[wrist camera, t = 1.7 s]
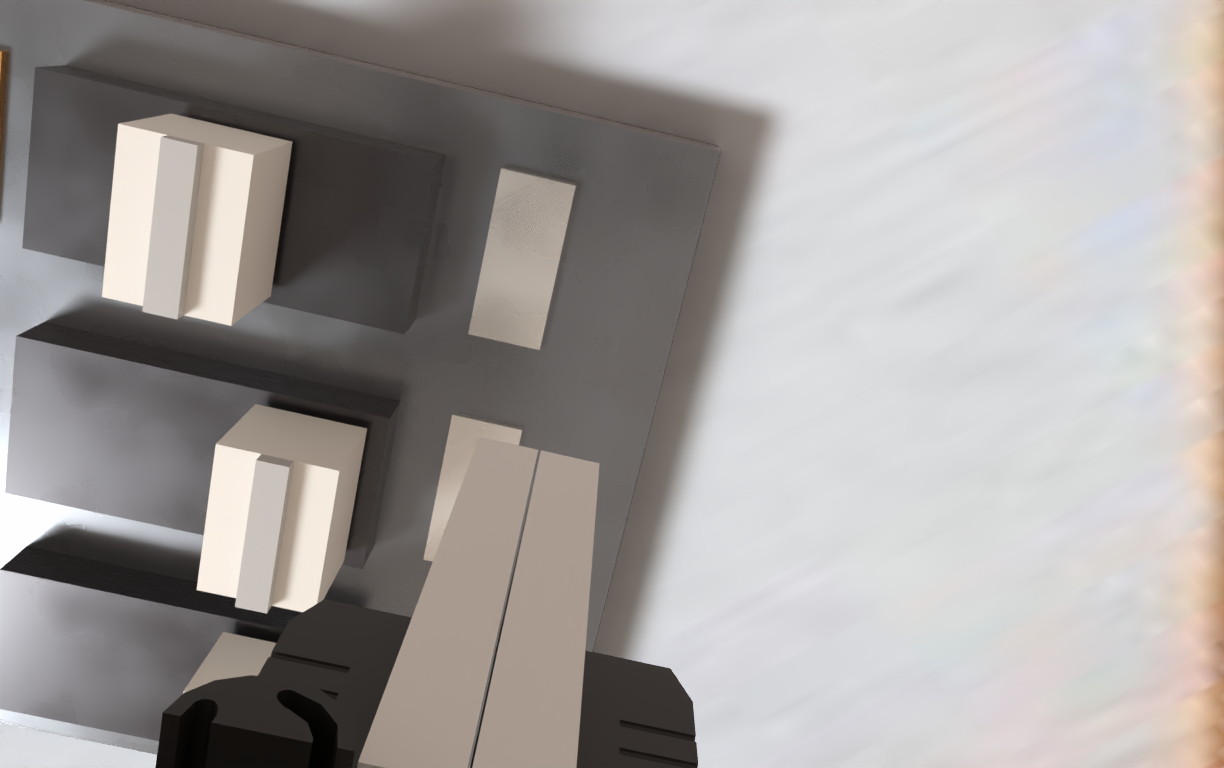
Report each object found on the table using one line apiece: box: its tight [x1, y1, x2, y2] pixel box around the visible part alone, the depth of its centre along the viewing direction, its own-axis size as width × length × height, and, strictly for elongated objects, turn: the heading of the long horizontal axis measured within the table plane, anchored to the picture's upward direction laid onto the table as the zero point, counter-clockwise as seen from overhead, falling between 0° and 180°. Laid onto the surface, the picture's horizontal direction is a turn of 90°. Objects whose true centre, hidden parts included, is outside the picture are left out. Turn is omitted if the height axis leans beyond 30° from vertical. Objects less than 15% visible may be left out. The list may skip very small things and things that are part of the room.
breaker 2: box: [183, 632, 276, 693], centre depth 31 cm, size 3×4×3 cm
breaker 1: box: [102, 114, 292, 326], centre depth 27 cm, size 3×4×3 cm
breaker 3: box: [197, 404, 367, 614], centre depth 29 cm, size 3×4×3 cm
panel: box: [0, 0, 721, 768], centre depth 32 cm, size 24×22×3 cm
